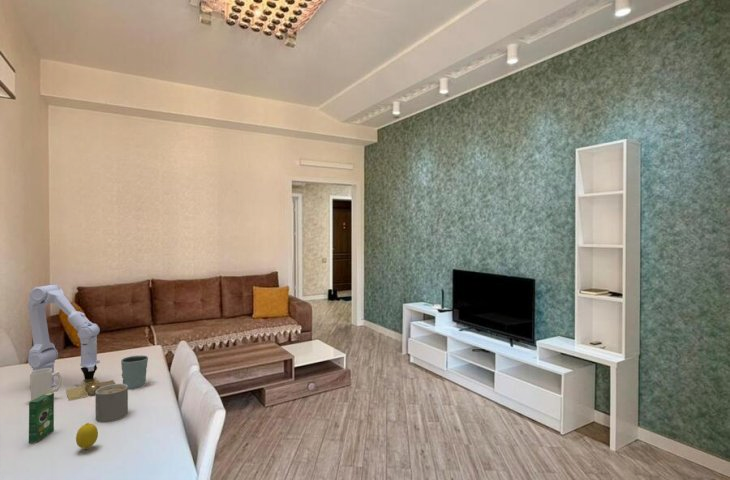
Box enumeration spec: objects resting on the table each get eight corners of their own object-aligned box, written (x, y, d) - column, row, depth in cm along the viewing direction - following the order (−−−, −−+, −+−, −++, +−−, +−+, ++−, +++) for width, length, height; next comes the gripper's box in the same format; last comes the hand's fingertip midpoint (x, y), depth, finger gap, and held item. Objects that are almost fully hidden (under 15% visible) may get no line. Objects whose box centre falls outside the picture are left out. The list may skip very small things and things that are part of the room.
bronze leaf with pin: (84, 388, 170) (84, 379, 170) (113, 382, 177) (113, 374, 177) (88, 396, 161) (88, 387, 161) (118, 389, 168) (118, 381, 168)
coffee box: (45, 430, 133) (45, 392, 133) (54, 430, 133) (54, 391, 133) (27, 443, 125) (27, 402, 125) (37, 442, 125) (37, 401, 125)
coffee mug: (130, 416, 143) (130, 389, 143) (97, 425, 137) (97, 396, 137) (123, 404, 154) (123, 379, 153) (92, 412, 147) (92, 385, 147)
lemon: (83, 444, 124) (83, 419, 124) (101, 444, 124) (101, 418, 124) (71, 454, 118) (71, 427, 118) (91, 453, 119) (91, 427, 119)
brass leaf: (66, 391, 166) (66, 383, 166) (96, 385, 173) (96, 377, 173) (69, 400, 157) (69, 391, 157) (100, 393, 164) (100, 384, 164)
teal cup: (115, 388, 170) (115, 360, 170) (137, 380, 180) (137, 354, 180) (132, 391, 167) (132, 363, 167) (153, 383, 176) (153, 356, 176)
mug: (28, 406, 152) (28, 375, 152) (31, 400, 157) (31, 370, 157) (61, 400, 158) (61, 370, 157) (62, 394, 163) (62, 365, 163)
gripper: (102, 354, 170) (102, 385, 170) (97, 347, 181) (97, 376, 181) (82, 357, 166) (82, 389, 166) (78, 350, 176) (78, 380, 177)
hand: (88, 383), depth 173 cm, fingers closed
